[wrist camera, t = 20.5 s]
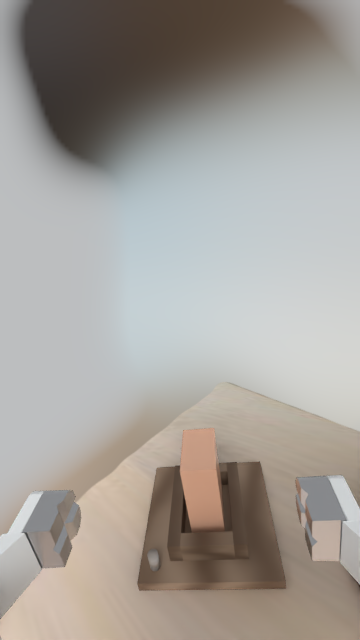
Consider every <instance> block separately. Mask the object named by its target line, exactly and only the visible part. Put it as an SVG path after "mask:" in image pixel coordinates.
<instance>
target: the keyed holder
mask: <svg viewBox="0 0 360 640" xmlns="http://www.w3.org/2000/svg"><path fill="white" fill-rule="evenodd" d="M219 468H220V476H221V483H222V491H223V505H224V520H225V532H199V533H192V531H191V526H190V521H189V516H188V511H187V506H186V500H185V495H184V490H183V485H182V480H181V475H180V466H175V467H163V468H157V470H156V476H155V482H154V488H153V494H152V500H151V506H150V512H149V518H148V524H147V530H146V536H145V542H144V548H143V554H142V560H141V566H140V572H139V578H138V587H139V590H205V589H275V588H286V581H285V576H284V572H283V567H282V562H281V558H280V553H279V548H278V544H277V539H276V534H275V530H274V525H273V520H272V516H271V511H270V506H269V502H268V497H267V493H266V488H265V483H264V479H263V474H262V469H261V465H260V462H247V463H237V462H232V463H219Z"/></svg>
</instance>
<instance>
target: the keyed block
mask: <svg viewBox="0 0 360 640" xmlns="http://www.w3.org/2000/svg"><path fill="white" fill-rule="evenodd" d="M180 475H181V480H182V485H183V490H184V495H185V500H186V506H187V511H188V516H189V521H190V526H191V531H192V533H199V532H225V520H224V505H223V491H222V483H221V476H220V468H219V461H218V453H217V446H216V438H215V431H214V428H208V429H194V430H183V439H182V451H181V463H180Z"/></svg>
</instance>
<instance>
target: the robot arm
mask: <svg viewBox="0 0 360 640" xmlns="http://www.w3.org/2000/svg"><path fill="white" fill-rule="evenodd" d="M296 488H297V491H298V493H297V495H296V504H297V511H298V515H299V519H300V523H301V526H302V527H303V528H304V529H305V538H306V543H307V546H308V549H309V552H310V556H311V559H312V561H340V563H341V564H342V565H343V566H344V568H345V569H346V570H347V571H348V572H349V573H350V574H351V575H352V577H353V578H354V579H355V580H356V581H357V582H358V583H359V584H360V508H359V506H358V504H357V502H356V500H355V498H354V496H353V494H352V492H351V490H350V488H349V486H348V484H347V482H346V480H345V478H344V477H343V476H342V475H334V476H314V477H299V478H296ZM75 497H76V496H75V494H74V492H73V490H59V491H33V492H32V493H31V494H30V495H29V497H28V498H27V500H26V502H25V503H24V505H23V507H22V509H21V510H20V512H19V514H18V515H17V517H16V519H15V520H14V522H13V524H12V526H11V527H10V529H9V531H8V533H7V534H2V535H1V536H0V619H1V618H2V616H3V615H4V614H5V613H6V612H7V610H8V609H9V608H10V607H11V606H12V605H13V603H14V602H15V601H16V600H17V599H18V597H19V596H20V595H21V594H22V593H23V592H24V590H25V589H26V588H27V587H28V586H29V585H30V583H31V582H32V581H33V580H34V579H35V577H36V576H37V575H38V574H39V573H40V572H41V570H42V569H41V568H56V567H65V565H66V563H67V560H68V557H69V555H70V552H71V549H72V544H71V540H72V539H73V538H74V537H75V536H76V535H77V533H78V530H79V527H80V522H81V510H80V507H79V505H78V504H76V503H75V502H74V500H75ZM0 640H1V637H0Z"/></svg>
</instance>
